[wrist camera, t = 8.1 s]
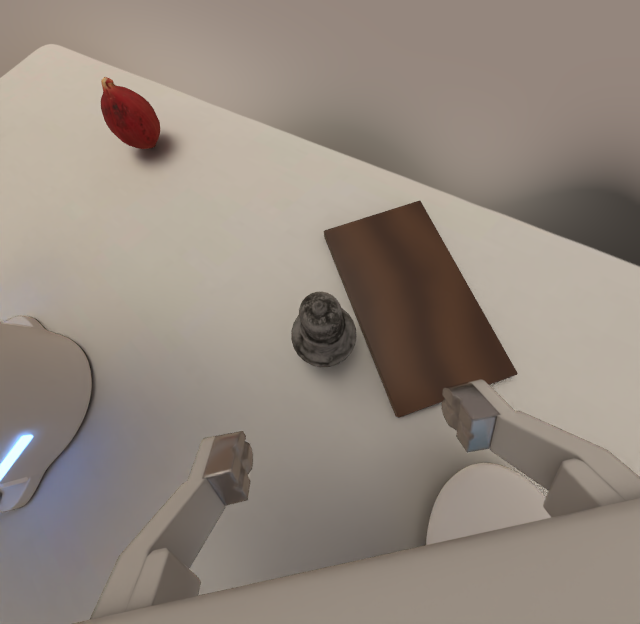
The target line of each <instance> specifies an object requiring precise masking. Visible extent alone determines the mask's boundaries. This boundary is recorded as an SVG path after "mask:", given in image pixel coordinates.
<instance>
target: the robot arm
mask: <svg viewBox="0 0 640 624" xmlns="http://www.w3.org/2000/svg"><path fill="white" fill-rule="evenodd" d="M91 389H92V377H91V370H90V366H89V362H88V360H87V358H86V356H85V354H84V352H83V351H82V349H81V348H80V347H79V346H78V345H77V344H76V343H75V342H73V341H72V340H70V339H69V338H67V337H65V336H62V335H59V334H56V333H52V332H49V331H47V330H45V329H44V327H43V326H42V325H41V324H40V323H39V322H38V321H37V320H36V319H34V318H32V317H27V316H15V317H13V318H11V319H8V320H6V321H4V322H0V513H1V512H6V511H10V510H14V509H17V508H20V507H22V506H24V505H25V504H26V503H27V502H28V501H29V500H30V499H31V497H32V495H33V494H34V492H35V490H36V488H37V487H38V485H39V483H40V481H41V479H42V476H43V474H44V472H45V471H46V469H47V468H48V467H49V466H50V464H51V463H52V462H53V461H54V460H55V459H56V458H57V457H58V456H59V455H60V453H61V452H62V451H63V450H64V449H65V448H66V447H67V445H68V444H69V443H70V442H71V440H72V439H73V437H74V436H75V434H76V432H77V431H78V429H79V427H80V425H81V423H82V421H83V419H84V417H85V414H86V412H87V408H88V405H89V401H90V396H91ZM442 395H443V396H444V398H445V399H444V400H443V401H442V412H443V416H444V418H445V420H446V422H447V423H448V425H449V426H450V427H451V428H453V429H455V430H457V435H456V437H457V438H458V440H459V441H460V443H461V444H462V446H463V447H464V449H465V450H466V452H467V453H468V452H473V451H479V450H484V449H489V448H490V450H491V451H492V452H494V453H495V454H497V455H498V456H499V457H501V458H502V459H504V460H505V461H507V462H508V463H510V464H511V465H512V466H514V467H515V468H517V469H518V470H520V471H521V472H523V473H524V474H525V475H527V476H528V477H530V478H531V479H533V480H534V481H536V482H537V483H538V484H540V485H541V486H543V487H544V488H546V489H547V490H549V491H548V494H547V496H546V498H545V500H544V504H543V507H544V508H545V510H546V511H547V512H548V514H549V515H550V516H551V518H547V519H542V520H538V521H533V522H529V523H524V524H520V525H515V526H511V527H506V528H502V529H497V530H493V531H488V532H484V533H479V534H475V535H470V536H466V537H461V538H456V539H452V540H447V541H443V542H438V543H434V544H429V545H425V546H420V547H416V548H411V549H407V550H402V551H398V552H393V553H389V554H384V555H380V556H375V557H371V558H366V559H361V560H357V561H352V562H348V563H343V564H339V565H334V566H330V567H325V568H321V569H316V570H312V571H307V572H303V573H298V574H294V575H289V576H285V577H280V578H276V579H271V580H267V581H262V582H258V583H253V584H249V585H244V586H240V587H235V588H231V589H226V590H222V591H217V592H213V593H208V594H203V595H199V596H198V594H199V589H200V585H201V582H200V580H199V578H198V577H197V576H196V575H195V574H194V573H193V572H192V571H191V570H190V569H189V568H190V567H191V565H192V563H193V562H194V560H195V558H196V556H197V555H198V553H199V551H200V550H201V548H202V546H203V545H204V543H205V541H206V539H207V538H208V536H209V534H210V533H211V531H212V529H213V528H214V526H215V524H216V523H217V521H218V519H219V517H220V516H221V514H222V512H223V511H224V509H225V506H226V505H230V504H234V503H238V502H242V501H246V500H248V496H249V488H250V479H249V477H248V474H249V473H250V471H251V470H252V466H253V452H252V448H251V446H250V444H249V443H248V442H246V441H245V439H246V435H245V434H244V432H243V431H239V432H234V433H228V434H223V435H218V436H213V437H208V438H204V439H203V440H202V441H201V443H200V446H199V449H198V452H197V454H196V457H195V460H194V463H193V466H192V469H191V472H190V474H189V477H188V480H187V482H185V483H182V485H181V486H180V487H179V488H178V489H177V490H176V491H175V493H174V494H173V495H172V496H171V497H170V498H169V499H168V501H167V502H166V503H165V504H164V505H163V506H162V507H161V509H160V510H159V511H158V512H157V513H156V514H155V515H154V517H153V518H152V519H151V520H150V521H149V522H148V524H147V525H146V526H145V527H144V528H143V529H142V530H141V532H140V533H139V534H138V535H137V536H136V537H135V538H134V540H133V541H132V542H131V543H130V544H129V545H128V546H127V548H126V549H125V550H124V551H123V552H122V553H121V554H120V556H119V557H118V559H117V561H116V564H115V566H114V568H113V570H112V572H111V574H110V577H109V579H108V581H107V583H106V585H105V587H104V590H103V592H102V594H101V596H100V598H99V600H98V602H97V605H96V607H95V609H94V611H93V613H92V615H91V618H90V620H86V621H82V622H77V623H73V624H640V477H639V476H638V475H637V474H636V473H634V472H633V471H632V470H631V469H630V468H628V467H627V466H626V465H625V464H624V463H622V462H621V461H620V460H619V459H618V458H616V457H615V456H614V455H613V454H612V453H610V452H609V451H608V450H606V449H604V448H602V447H600V446H597V445H595V444H593V443H591V442H588V441H586V440H584V439H582V438H579V437H577V436H575V435H573V434H570V433H568V432H566V431H564V430H562V429H559V428H557V427H555V426H553V425H550V424H548V423H546V422H544V421H541V420H539V419H537V418H535V417H532V416H530V415H528V414H526V413H524V412H521V411H515V410H514V409H513V408H512V407H511V406H510V405H509V404H508V403H507V402H506V401H505V400H504V399H503V398H502V397H501V396H500V395H499V394H498V393H497V392H496V391H495V390H493V389H492V388H491V387H490V386H489V385H488V384H487V383H486V382H485V381H484V380H482V379H481V380H477V381H472V382H466V383H462V384H457V385H453V386H449V387H444V389H443V392H442Z"/></svg>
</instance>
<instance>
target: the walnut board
mask: <svg viewBox="0 0 640 624" xmlns="http://www.w3.org/2000/svg"><path fill="white" fill-rule="evenodd" d="M324 237H325V239H326V242H327V244H328V247H329V249H330V252H331V254H332V257H333V259H334V262H335V264H336V267H337V270H338V272H339V275H340V277H341V280H342V282H343V285H344V287H345V290H346V292H347V295H348V297H349V300H350V302H351V305H352V307H353V310H354V312H355V315H356V317H357V320H358V322H359V325H360V327H361V330H362V333H363V335H364V338H365V340H366V343H367V345H368V348H369V350H370V353H371V355H372V358H373V360H374V363H375V365H376V368H377V370H378V373H379V375H380V378H381V380H382V383H383V385H384V388H385V390H386V393H387V396H388V398H389V401H390V403H391V406H392V408H393V411H394V413H395V416H396V417H402V416H404V415H407V414H410V413H413V412H415V411H418V410H421V409H424V408H426V407H429V406H432V405H435V404H437V403H440V402H442V401H443V400H444V399H445V398H444V396H443V395H442V392H443V389H444V387H449V386H453V385H457V384H462V383H466V382H472V381H477V380H481V379H482V380H484V381H485V382H486V383H487V384H488V385H489V384H492V383H495V382H498V381H500V380H503V379H506V378H509V377H511V376H514V375H517V374H518V373H517V371H516V370H515V368H514V366H513V364H512V363H511V361H510V359H509V357H508V356H507V354H506V352H505V350H504V348H503V347H502V345H501V343H500V341H499V340H498V338H497V336H496V334H495V332H494V331H493V329H492V327H491V325H490V324H489V322H488V320H487V318H486V317H485V315H484V313H483V311H482V309H481V308H480V306H479V304H478V302H477V301H476V299H475V297H474V295H473V293H472V292H471V290H470V288H469V286H468V285H467V283H466V281H465V279H464V277H463V276H462V274H461V272H460V270H459V269H458V267H457V265H456V263H455V262H454V260H453V258H452V256H451V254H450V253H449V251H448V249H447V247H446V246H445V244H444V242H443V240H442V238H441V237H440V235H439V233H438V231H437V230H436V228H435V226H434V224H433V222H432V221H431V219H430V217H429V215H428V214H427V212H426V210H425V208H424V207H423V205H422V203H421V201H417V202H414V203H411V204H407V205H404V206H401V207H398V208H395V209H392V210H388V211H385V212H382V213H379V214H376V215H373V216H370V217H366V218H363V219H360V220H357V221H354V222H351V223H347V224H344V225H341V226H338V227H335V228H332V229H328V230H325V231H324Z"/></svg>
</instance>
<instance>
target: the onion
mask: <svg viewBox="0 0 640 624" xmlns="http://www.w3.org/2000/svg"><path fill="white" fill-rule="evenodd" d="M101 82H102V87H103V95H102V98H101V109H102V113H103V116H104V119H105V122H106V124H107V126H108V127H109V129H110V130H111V131H112V132H113V133H114V134H115V135H116V136H117V137H118V138H119V139H120V140H121V141H122V142H124V143H126V144H127V145H129V146H132V147H135V148H140V149H148V148H154V147H155V146H156V142H157V140H158V138H159V134H160V122H159V120H158V118H157V116H156V113H155V111H154V109H153V108H152V106H151V105H150V104H149V102H148V101H146V100H145V99H144V98H143V97H142V96H140V95H139V94H137V93H135V92H134V91H132V90H130V89H127V88H125V87H120V86H115V85H114V84H113V83H114V82H113V80H111V79H109V78H107V77H104V78H103V79H102V80H101Z"/></svg>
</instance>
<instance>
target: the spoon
mask: <svg viewBox="0 0 640 624" xmlns="http://www.w3.org/2000/svg"><path fill="white" fill-rule="evenodd" d="M544 500H545V497H544V495H543V494H542V492H541V491H540V490H539V489H538V488H537V487H536V486H535V485H534V484H533V483H532V482H530V481H529V480H528V479H526V478H525V477H524V476H522V475H520V474H519V473H517V472H515V471H513V470H512V469H509V468H507V467H505V466H502V465H499V464H494V463H477V464H473V465H470V466H467V467H465V468H464V469H462V470H460V471H459V472H457V473H456V474H455V475H454V476H453V477H451V478H450V480H449V481H448V482H447V483H446V484H445V485H444V487H443V488H442V490H441V491H440V493H439V495H438V497H437V499H436V501H435V504H434V506H433V509H432V512H431V516H430V520H429V524H428V530H427V538H426V545H429V544H434V543H438V542H443V541H447V540H452V539H456V538H461V537H466V536H470V535H475V534H479V533H484V532H488V531H493V530H497V529H502V528H506V527H511V526H515V525H520V524H524V523H529V522H533V521H538V520H542V519H547V518H551V516H550V515H549V514H548V512H547V511H546V510H545V508H544V507H543V504H544Z"/></svg>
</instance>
